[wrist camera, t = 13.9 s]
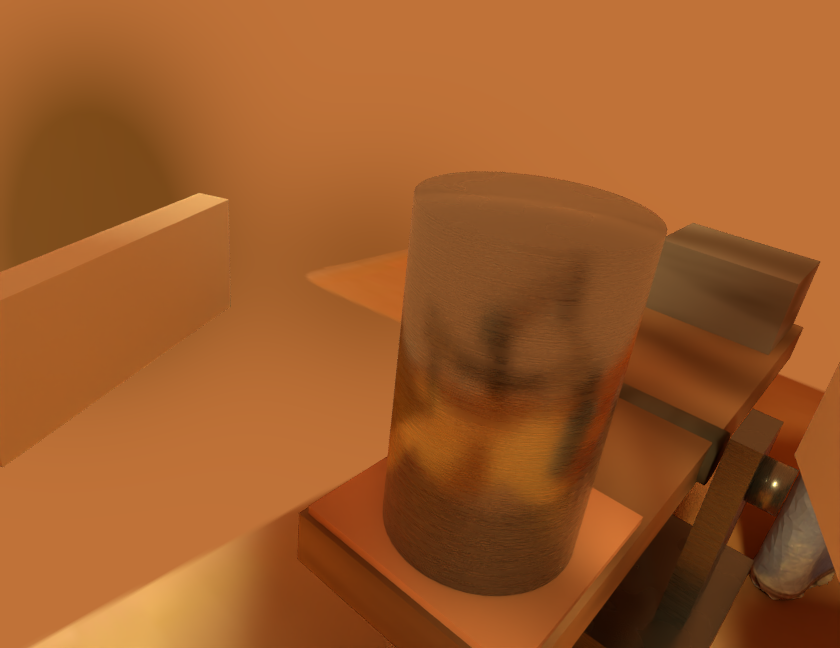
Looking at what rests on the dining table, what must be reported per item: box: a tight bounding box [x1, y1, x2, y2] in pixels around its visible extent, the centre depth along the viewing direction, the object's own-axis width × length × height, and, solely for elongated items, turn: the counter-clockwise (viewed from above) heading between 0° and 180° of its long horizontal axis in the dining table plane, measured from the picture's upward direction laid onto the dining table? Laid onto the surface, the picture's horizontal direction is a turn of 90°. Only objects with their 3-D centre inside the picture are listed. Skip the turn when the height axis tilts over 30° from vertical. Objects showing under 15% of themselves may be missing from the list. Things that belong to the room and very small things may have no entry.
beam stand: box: [572, 409, 799, 648], centre depth 30 cm, size 10×14×11 cm
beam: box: [298, 223, 820, 648], centre depth 28 cm, size 30×9×6 cm, turn 139°
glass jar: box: [383, 172, 667, 596], centre depth 18 cm, size 6×6×10 cm
